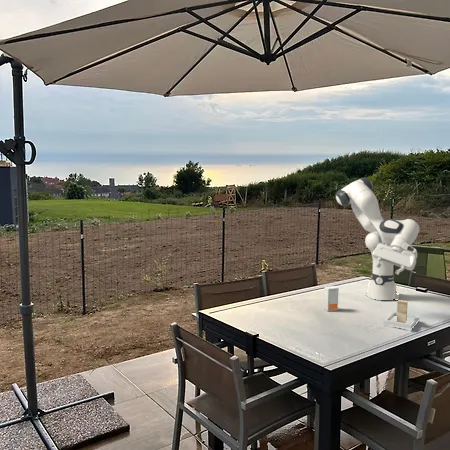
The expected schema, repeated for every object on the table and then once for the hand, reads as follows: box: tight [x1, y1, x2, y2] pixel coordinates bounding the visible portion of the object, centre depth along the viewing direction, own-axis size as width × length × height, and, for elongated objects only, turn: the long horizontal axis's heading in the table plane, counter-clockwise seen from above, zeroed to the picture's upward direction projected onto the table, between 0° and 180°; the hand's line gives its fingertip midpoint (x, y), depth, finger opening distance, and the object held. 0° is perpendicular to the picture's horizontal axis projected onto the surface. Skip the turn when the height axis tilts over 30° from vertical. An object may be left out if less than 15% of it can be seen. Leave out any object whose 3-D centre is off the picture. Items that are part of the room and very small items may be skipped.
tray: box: [383, 311, 420, 329], centre depth 196 cm, size 16×12×3 cm
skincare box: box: [323, 285, 339, 312], centre depth 217 cm, size 6×4×12 cm
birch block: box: [396, 299, 409, 323], centre depth 196 cm, size 4×4×10 cm
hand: (387, 270), depth 203 cm, fingers open, 8 cm apart
